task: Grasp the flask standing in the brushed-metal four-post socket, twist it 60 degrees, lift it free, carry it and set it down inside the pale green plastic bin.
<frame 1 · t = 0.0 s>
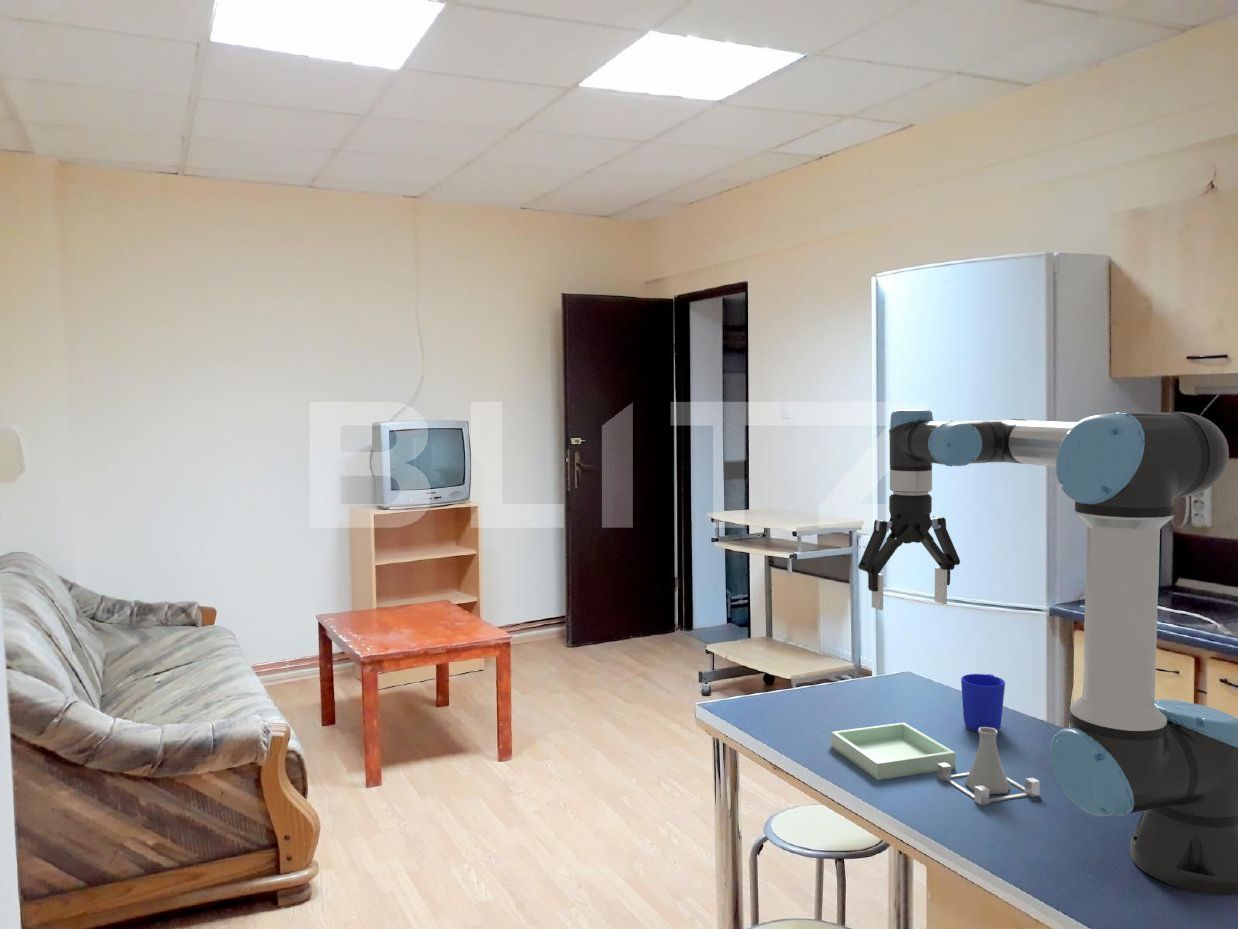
hand: (909, 605, 171), 28 cm above the breakfast bar, fingers open, 13 cm apart
bin: (891, 757, 170), on the breakfast bar
mug: (984, 726, 186), on the breakfast bar
flask: (987, 788, 157), on the breakfast bar
socket: (987, 786, 157), on the breakfast bar
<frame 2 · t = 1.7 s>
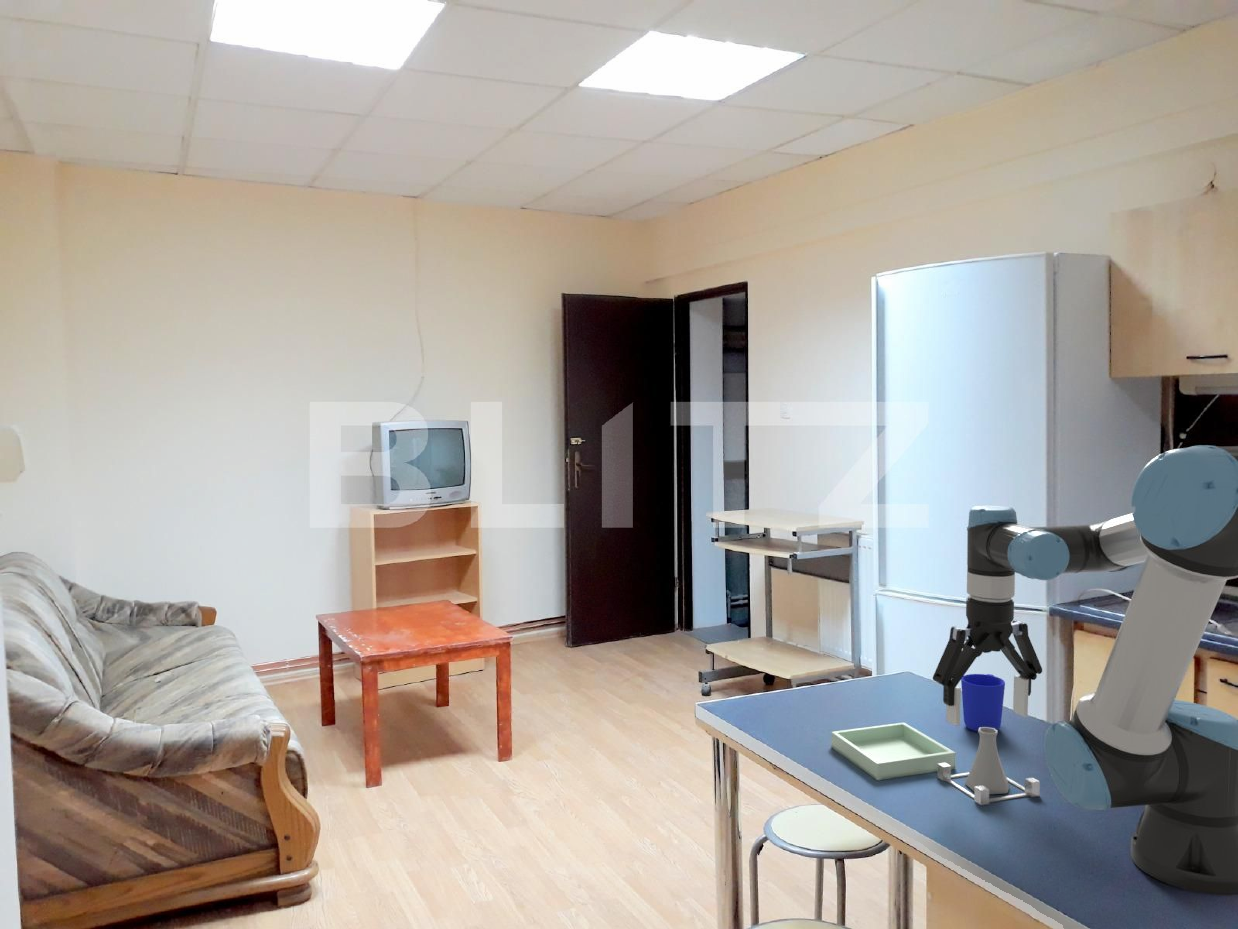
hand: (987, 718, 157), 12 cm above the breakfast bar, fingers open, 13 cm apart
nothing on the breakfast bar moved.
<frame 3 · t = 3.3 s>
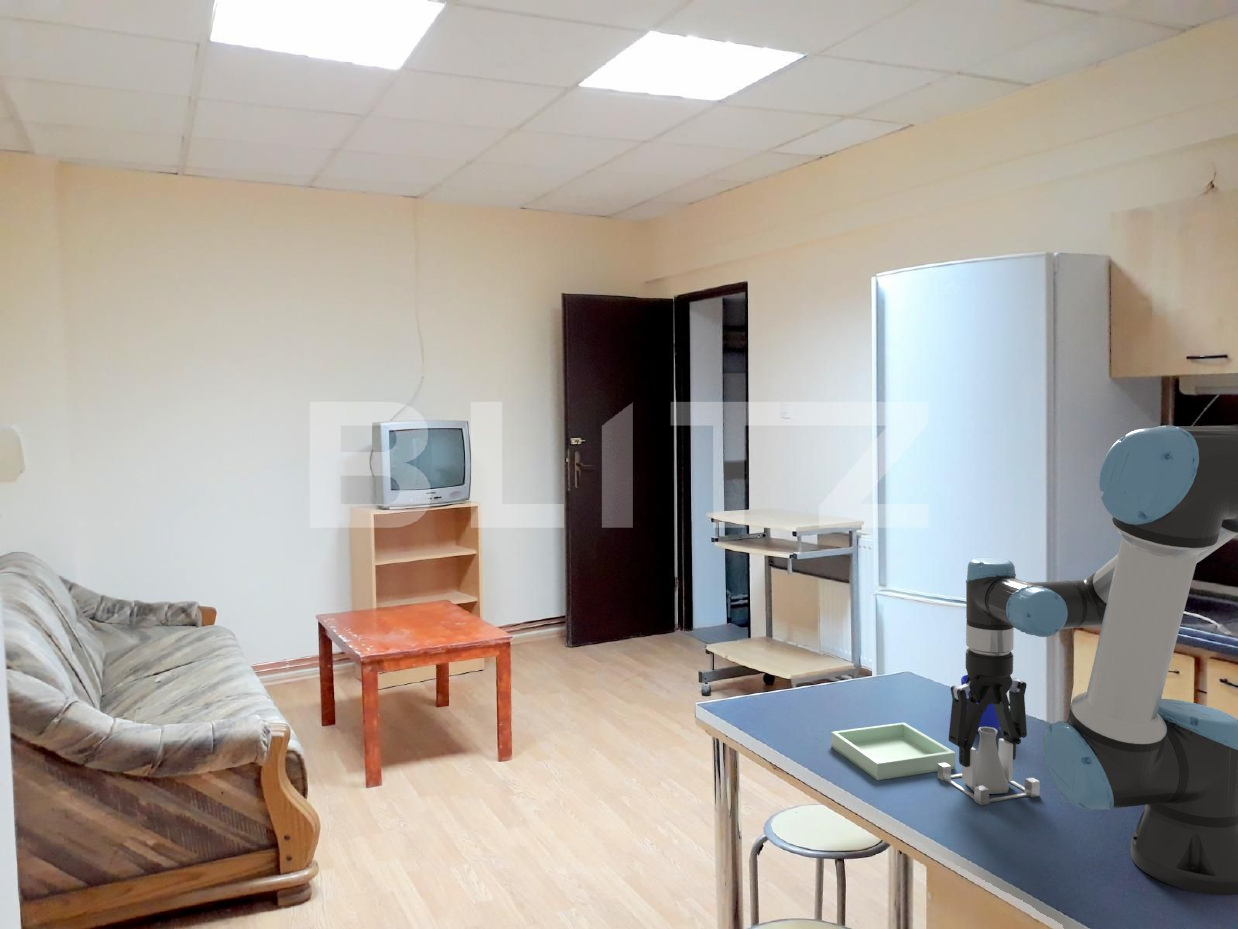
hand: (987, 780, 157), 1 cm above the breakfast bar, fingers closed on flask, 7 cm apart
flask: (987, 787, 157), on the breakfast bar, touching gripper
everything else where it was.
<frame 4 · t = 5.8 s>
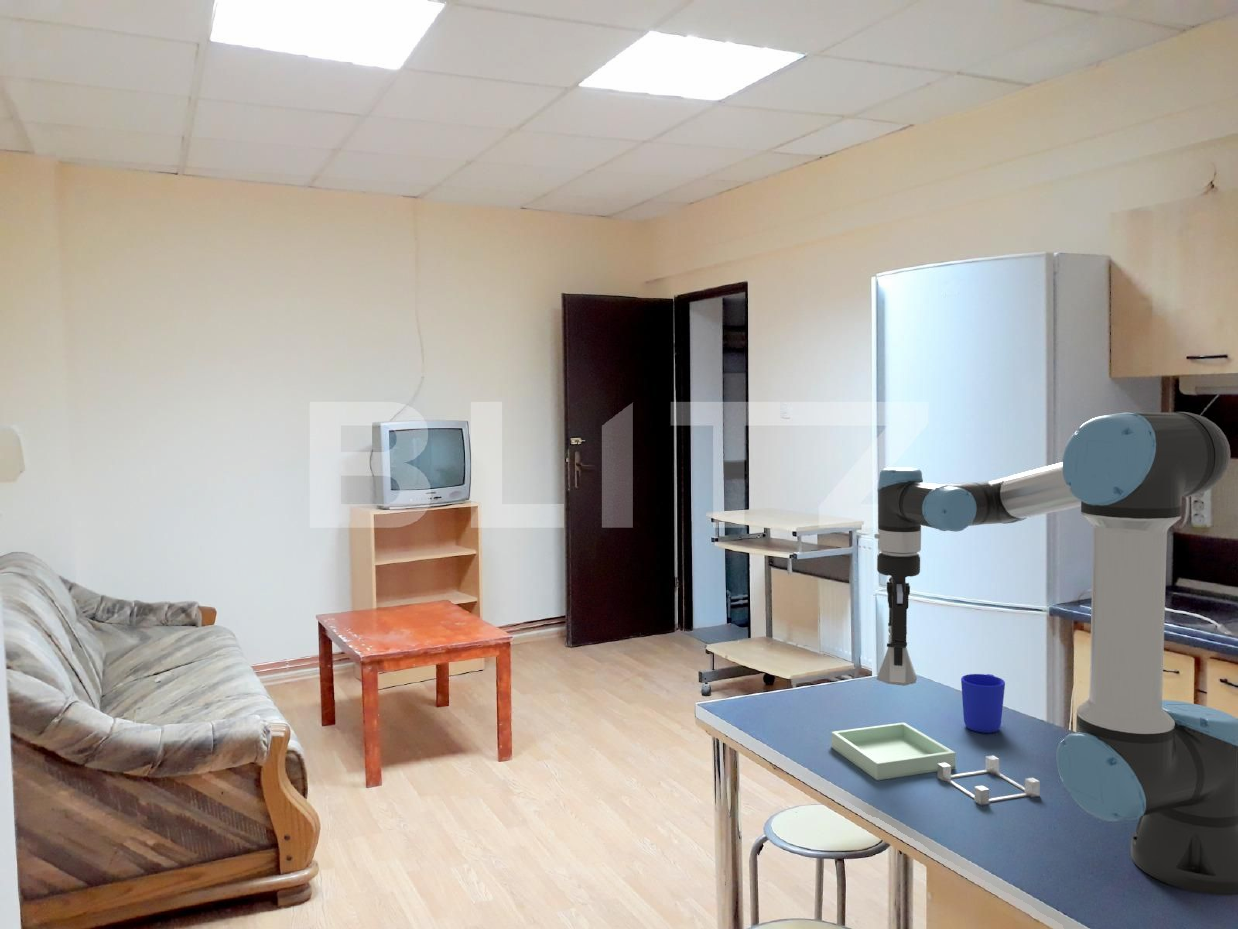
hand: (896, 675, 169), 16 cm above the breakfast bar, fingers closed on flask, 7 cm apart
flask: (896, 681, 169), point 15 cm above the breakfast bar, touching gripper
everything else where it was.
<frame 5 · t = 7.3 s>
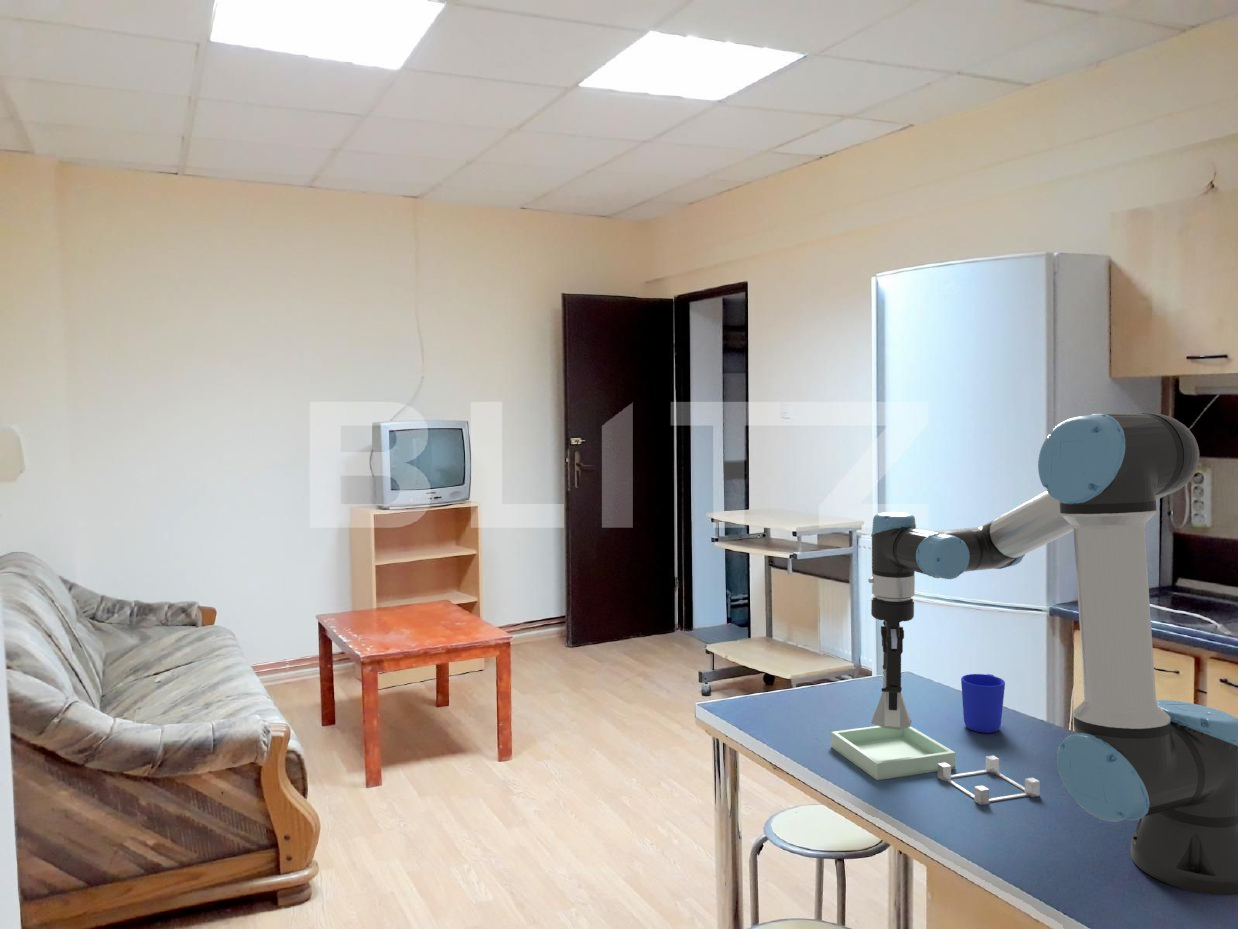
hand: (891, 718, 170), 7 cm above the breakfast bar, fingers closed on flask, 7 cm apart
flask: (891, 724, 170), point 6 cm above the breakfast bar, touching gripper
everything else where it was.
when the fingers open (3 cm above the breakfast bar, at t = 8.4 s): flask drops 2 cm, resting on bin.
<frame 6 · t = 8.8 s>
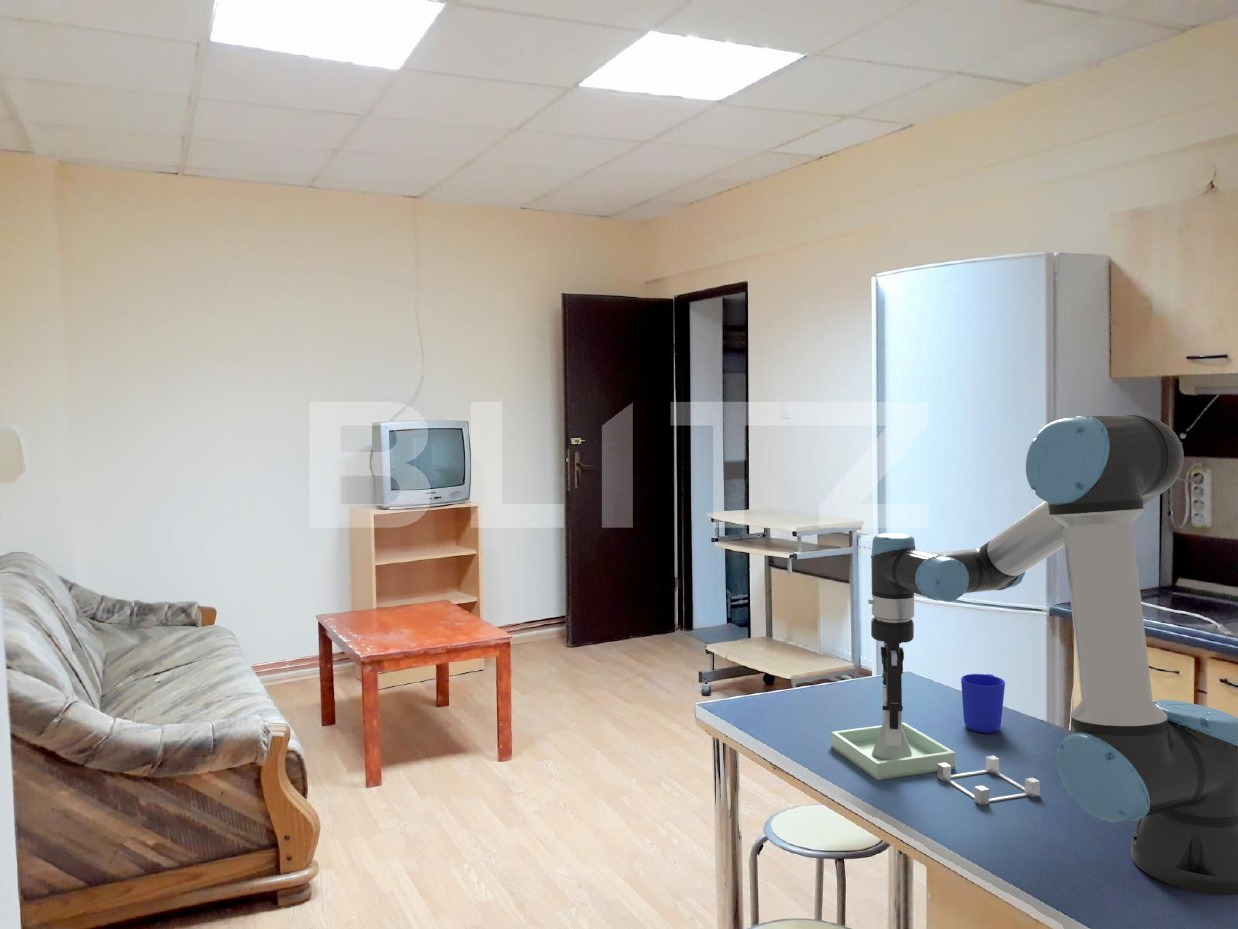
hand: (891, 732, 170), 5 cm above the breakfast bar, fingers open, 12 cm apart
flask: (891, 756, 170), resting on bin
everything else where it was.
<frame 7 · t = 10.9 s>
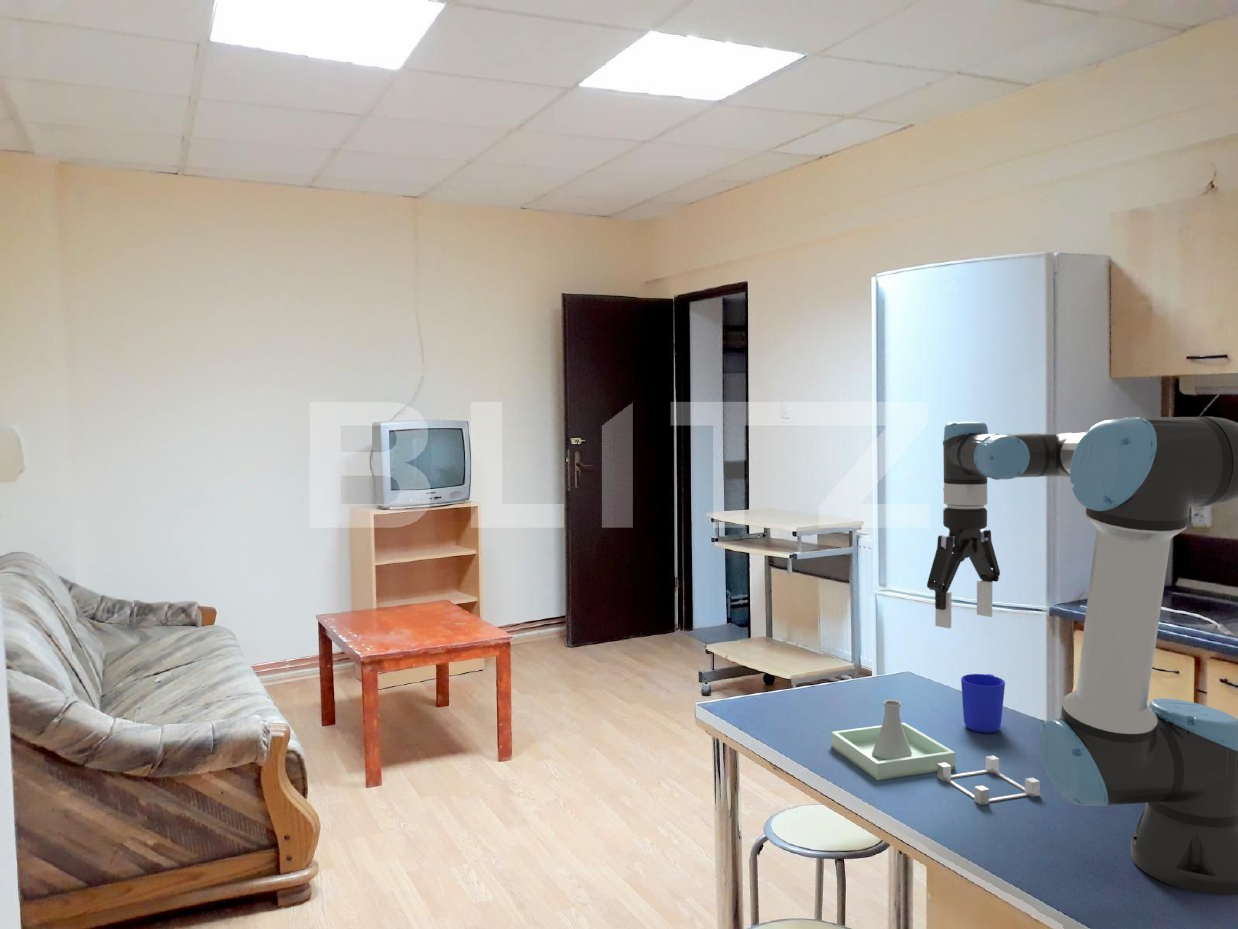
hand: (964, 621, 168), 26 cm above the breakfast bar, fingers open, 13 cm apart
nothing on the breakfast bar moved.
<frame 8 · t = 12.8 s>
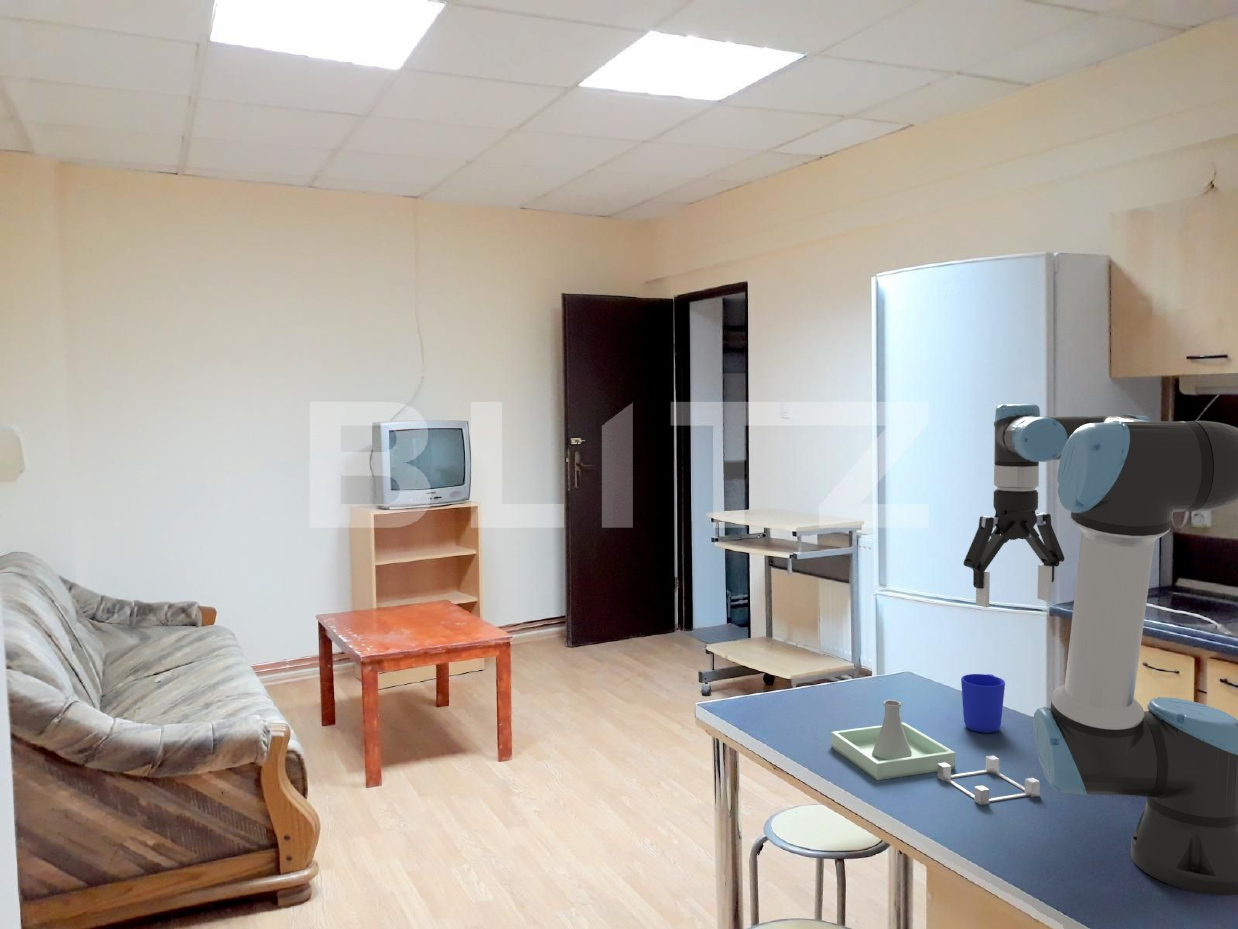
hand: (1013, 603, 169), 29 cm above the breakfast bar, fingers open, 13 cm apart
nothing on the breakfast bar moved.
at the end: flask inside the target area on the bin (0.1 cm from its centre), point 0.3 cm above the bin's base; flask tilted 0°; the gripper is holding nothing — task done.
